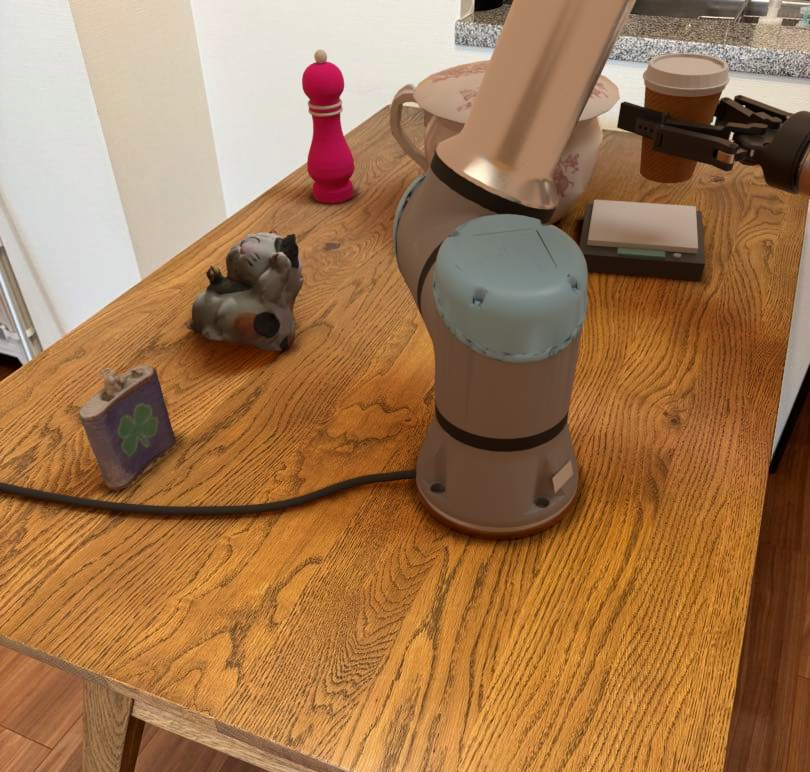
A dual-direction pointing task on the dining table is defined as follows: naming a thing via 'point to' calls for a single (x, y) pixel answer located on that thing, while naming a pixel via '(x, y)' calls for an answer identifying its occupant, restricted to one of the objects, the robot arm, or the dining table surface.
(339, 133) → the pepper mill
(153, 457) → the flask
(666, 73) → the disposable coffee cup
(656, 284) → the dining table surface
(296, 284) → the lucky cat figurine
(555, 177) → the chamber pot
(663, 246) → the kitchen scale
